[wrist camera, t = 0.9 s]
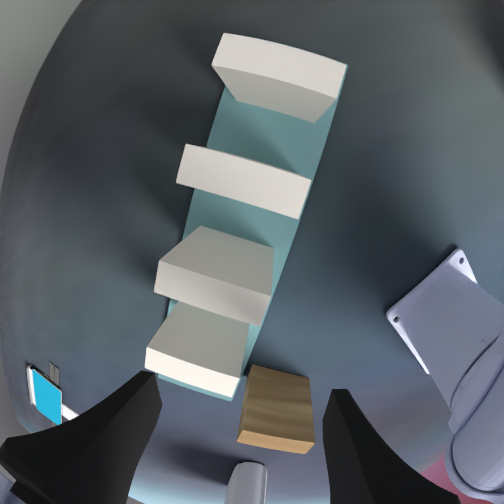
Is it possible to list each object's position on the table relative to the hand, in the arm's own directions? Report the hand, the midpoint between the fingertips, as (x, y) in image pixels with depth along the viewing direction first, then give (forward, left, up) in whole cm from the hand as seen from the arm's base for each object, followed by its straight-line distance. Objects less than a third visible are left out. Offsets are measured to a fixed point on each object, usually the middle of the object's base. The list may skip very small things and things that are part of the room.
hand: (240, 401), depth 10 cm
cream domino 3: (+4, -1, -10) cm, 11 cm away
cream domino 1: (+9, -10, -10) cm, 16 cm away
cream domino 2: (+6, -5, -10) cm, 13 cm away
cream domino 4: (+1, +3, -10) cm, 10 cm away
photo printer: (-19, +20, -10) cm, 30 cm away
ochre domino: (-7, +4, -10) cm, 13 cm away
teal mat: (+4, -1, -10) cm, 11 cm away
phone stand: (+4, +35, -11) cm, 37 cm away
